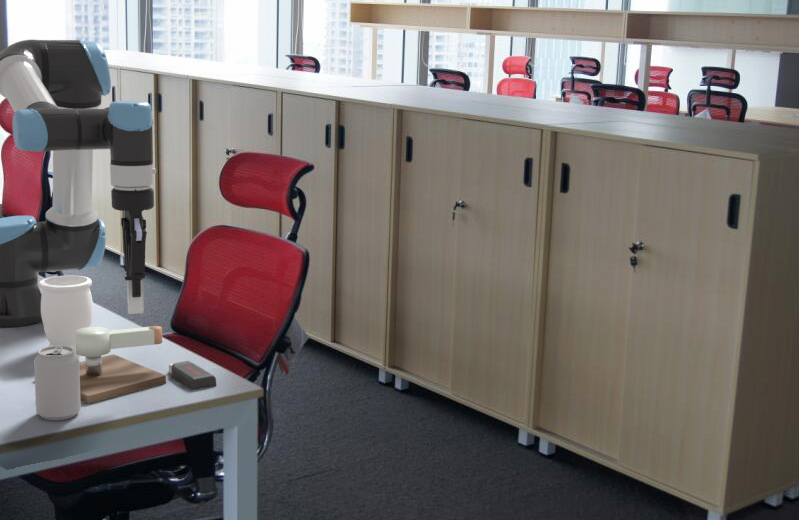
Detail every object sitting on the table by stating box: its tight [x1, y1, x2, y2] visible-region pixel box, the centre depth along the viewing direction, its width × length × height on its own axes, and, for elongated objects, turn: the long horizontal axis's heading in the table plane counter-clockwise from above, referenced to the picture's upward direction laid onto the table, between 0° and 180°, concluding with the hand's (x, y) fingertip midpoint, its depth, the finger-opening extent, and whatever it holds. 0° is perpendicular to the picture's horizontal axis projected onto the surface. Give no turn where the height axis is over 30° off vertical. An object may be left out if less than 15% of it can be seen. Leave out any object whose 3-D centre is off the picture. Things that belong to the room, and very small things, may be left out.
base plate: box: [79, 353, 167, 405], centre depth 203 cm, size 18×17×2 cm
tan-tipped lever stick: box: [75, 325, 163, 357], centre depth 204 cm, size 16×6×4 cm, turn 117°
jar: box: [39, 275, 94, 353], centre depth 220 cm, size 11×10×15 cm
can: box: [33, 345, 82, 421], centre depth 184 cm, size 8×8×12 cm
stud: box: [84, 355, 103, 376], centre depth 202 cm, size 3×3×4 cm
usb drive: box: [168, 360, 217, 391], centre depth 206 cm, size 5×12×3 cm, turn 37°
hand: (135, 312), depth 196 cm, fingers closed
